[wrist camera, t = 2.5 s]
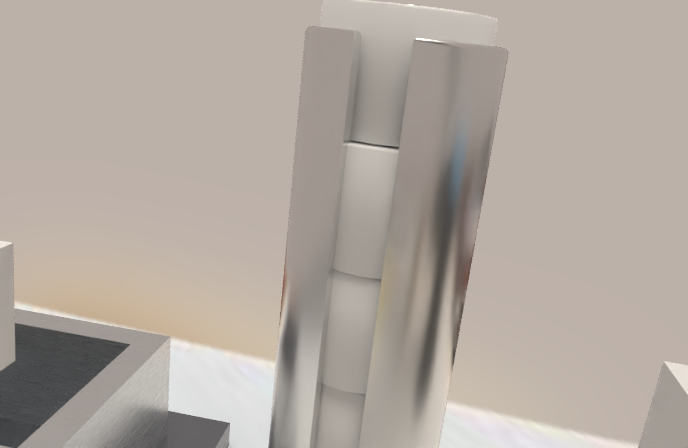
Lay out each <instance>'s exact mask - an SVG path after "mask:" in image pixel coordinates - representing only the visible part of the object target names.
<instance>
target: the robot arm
mask: <svg viewBox="0 0 688 448" xmlns="http://www.w3.org/2000/svg"><path fill="white" fill-rule="evenodd" d="M14 361H15V314H14V264H13V243H10V242H5V241H0V371H1V370H3V369H4V368H5V367H7V366H8V365H10V364H11V363H13V362H14ZM638 448H688V365H682V364H677V363H671V362H666V361H664V362H663V365H662V369H661V372H660V376H659V379H658V383H657V386H656V389H655V393H654V396H653V399H652V403H651V406H650V410H649V413H648V416H647V420H646V423H645V427H644V430H643V433H642V437H641V440H640V444H639V447H638Z"/></svg>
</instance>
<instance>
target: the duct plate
mask: <svg viewBox="0 0 688 448" xmlns="http://www.w3.org/2000/svg"><path fill="white" fill-rule="evenodd" d="M14 314H15V361H14V362H13V363H11V364H10V365H8V366H7V367H5V368H4V369H3V370H1V371H0V448H227V447H228V445H229V430H230V423H227V422H222V421H217V420H211V419H206V418H201V417H196V416H191V415H186V414H181V413H176V412H171V411H168V393H169V365H170V337H169V336H164V335H158V334H153V333H147V332H142V331H136V330H131V329H125V328H120V327H114V326H108V325H103V324H97V323H92V322H86V321H81V320H75V319H70V318H64V317H59V316H53V315H47V314H42V313H36V312H31V311H25V310H20V309H14Z"/></svg>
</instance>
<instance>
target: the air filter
mask: <svg viewBox="0 0 688 448" xmlns="http://www.w3.org/2000/svg"><path fill="white" fill-rule="evenodd" d="M497 24H498V19H495V18H492V17H489V16H485V15H481V14H474V13H468V12H461V11H455V10H448V9H440V8H432V7H424V6H420V5H413V4H398V3H388V2H377V1H365V0H324V2H322V11H321V21H320V27H319V26H310V27H308V28H307V29H306V31H305V40H304V51H303V63H302V74H301V85H300V96H299V108H298V119H297V131H296V143H295V153H294V165H293V177H292V187H291V198H290V199H291V200H290V209H289V221H288V233H287V244H286V255H285V266H284V278H283V289H282V300H281V312H280V322H279V335H278V345H277V356H276V368H275V379H274V390H273V402H272V413H271V424H270V435H269V447H268V448H439V444H440V438H441V433H442V427H443V421H444V416H445V410H446V404H447V399H448V393H449V387H450V381H451V376H452V370H453V365H454V359H455V353H456V348H457V342H458V336H459V331H460V325H461V319H462V314H463V308H464V302H465V297H466V290H467V285H468V280H469V274H470V268H471V263H472V257H473V251H474V246H475V240H476V234H477V229H478V223H479V218H480V212H481V206H482V201H483V195H484V189H485V183H486V178H487V172H488V166H489V161H490V155H491V149H492V144H493V138H494V133H495V127H496V121H497V115H498V110H499V104H500V99H501V93H502V87H503V81H504V76H505V70H506V65H507V59H508V51H507V49H505V48H501V47H495V46H494V42H495V35H496V30H497Z"/></svg>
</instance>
